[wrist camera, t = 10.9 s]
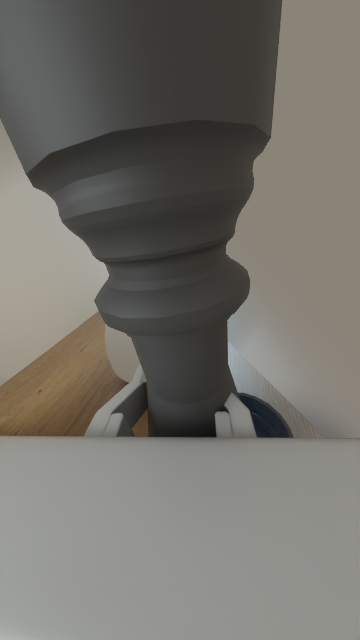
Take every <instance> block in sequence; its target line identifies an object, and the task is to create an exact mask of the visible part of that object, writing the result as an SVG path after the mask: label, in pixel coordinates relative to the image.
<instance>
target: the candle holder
mask: <svg viewBox="0 0 360 640" xmlns="http://www.w3.org/2000/svg"><path fill="white" fill-rule="evenodd" d="M281 7H282V0H0V119H1V121H2V123H3V125H4V128H5V130H6V132H7V134H8V136H9V138H10V140H11V143H12V145H13V147H14V149H15V151H16V153H17V156H18V158H19V160H20V162H21V164H22V166H23V169H24V171H25V173H26V175H27V176H28V178H29V180H30V182H31V183H32V185H33V187H35V188H37V189H39V190H42V191H44V192H45V193H47V194H48V195H49V196H50V197H51V198H52V199H53V200H54V201H55V202H56V205H57V206H58V209H59V216H60V218H61V220H62V223H63V224H64V225H65V226H66V227H67V228H68V229H69V230H70V231H72V232H73V233H74V234H76V235H77V236H78V237H80V238H81V239H82V240H83V241H84V242H85V243H86V245H87V246H88V247H89V249H90V251H91V252H92V255H93V256H94V257H95V258H96V259H98V260H99V261H101V262H104V263H105V265H106V267H107V270H108V273H109V275H110V276H109V278H108V280H107V281H106V283H105V284H104V285H103V287H102V288H101V290H100V291H99V293H98V294H97V296H96V298H95V300H94V301H95V303H96V306H97V308H98V310H99V312H100V314H101V316H102V318H103V320H104V322H105V323H106V324H107V325H108V326H109V327H111V328H114V329H116V330H119V331H121V332H124V333H126V334H127V335H128V336H129V337H131V338H132V341H133V344H134V347H135V349H136V352H137V355H138V357H139V361H140V364H141V366H142V369H143V372H144V375H145V378H146V380H147V397H148V435H149V437H217V436H216V423H215V413H216V412H218V411H226V410H225V405H224V404H225V402H226V401H227V399H228V397H229V395H230V394H231V392H232V393H233V394H234V395H235V396H236V397H237V398H238V399H239V400H240V398H239V395H238V392H237V389H236V387H235V384H234V381H233V378H232V375H231V372H230V369H229V366H228V341H227V320H228V319H229V317H230V316H231V315H232V314H234V313H235V312H236V311H237V309H238V308H239V307H240V306H241V305H242V303H243V302H244V301H245V299H247V296H248V294H249V290H250V279H249V275H248V272H247V270H246V269H245V268H244V267H243V266H241V265H240V264H239V263H238V262H236V261H234V260H233V259H231V258H230V257H229V256H228V255H227V254H226V244H227V242H228V241H229V240H230V239H231V238H232V237H233V235H234V233H235V225H236V221H237V218H238V215H239V214H240V212H241V210H242V208H243V207H244V205H245V204H246V202H247V200H248V199H249V197H250V195H251V193H252V190H253V188H254V177H253V172H252V169H253V161H254V160H255V158H256V157H257V156H258V155H260V153H262V152H263V150H264V148H265V146H266V145H267V143H268V141H269V140H270V138H271V128H272V117H273V103H274V91H275V80H276V67H277V56H278V44H279V32H280V19H281Z"/></svg>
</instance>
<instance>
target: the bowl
mask: <svg viewBox="0 0 360 640" xmlns="http://www.w3.org/2000/svg"><path fill="white" fill-rule="evenodd" d="M238 395H239V398H240V401H241V402H242V403H243V404H244V405H245V406H246V407H247V408H248V409H249V410H250V414H251V417H252V421H253V425H254V429H255V432H256V436H257V438H293V435H292V432H291V429H290V428H289V426H288V425H287V423H286V422H285V420H284V419H283V418H282V416H281V415H280V414H279V413H278V412H277V411H276V410H275V409H274V408H273V407H271V406H270V405H269V404H268V403H266V402H264V401H263V400H261V399H259V398H257V397H255V396H252V395H248V394H245V393H238Z"/></svg>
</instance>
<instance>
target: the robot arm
mask: <svg viewBox="0 0 360 640" xmlns="http://www.w3.org/2000/svg"><path fill="white" fill-rule="evenodd" d="M224 405H225V410H226V411H218V412H216V413H215V423H216V436H217V437H135V436H134V434H133V432H132V430H131V429H132V428H133V427H134V425H135V424H136V423H137V421H138V420H139V419H140V417H141V416H142V415H143V414H144V412H145V411H146V410H147V408H148V397H147V380H146V378H145V375H144V372H143V369H142V366H141V364H140V363H139V365H138V367H137V370H136V372H135V375H134V378H133V380H132V383H129V384H128V385H126V386H125V387H124V388H123V389H122V390H121V391H120V392H118V393H117V394H116V395H115V396H114V397H113V398H112V399H110V400H109V401H108V402H107V403H106V404H105V405H104V406H103V407H101V408H100V409H99V410H98V411H97V412H96V413H95V415H94V417H93V419H92V421H91V423H90V425H89V427H88V429H87V431H86V433H85V435H84V436H0V640H360V439H359V438H257V436H256V432H255V429H254V425H253V421H252V417H251V414H250V410H249V409H248V408H247V407H246V406H245V405H244V404H243V403H242V402H241V401H240V400H239V399H238V398H237V397H236V396H235V395H234V394H233V393H232V392H231V394H230V395H229V397H228V399H227V401H226V402H225V404H224Z"/></svg>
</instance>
